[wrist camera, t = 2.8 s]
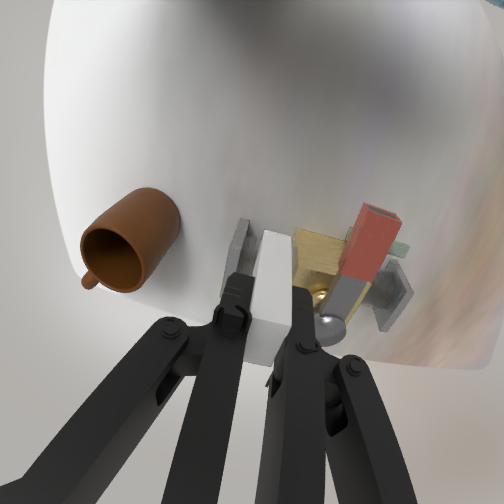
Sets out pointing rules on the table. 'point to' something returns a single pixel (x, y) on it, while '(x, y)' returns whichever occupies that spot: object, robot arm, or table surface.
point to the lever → (355, 270)
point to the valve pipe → (327, 271)
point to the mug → (129, 240)
